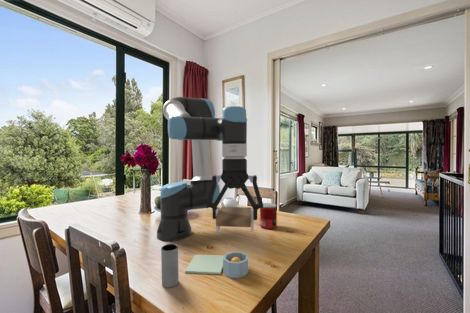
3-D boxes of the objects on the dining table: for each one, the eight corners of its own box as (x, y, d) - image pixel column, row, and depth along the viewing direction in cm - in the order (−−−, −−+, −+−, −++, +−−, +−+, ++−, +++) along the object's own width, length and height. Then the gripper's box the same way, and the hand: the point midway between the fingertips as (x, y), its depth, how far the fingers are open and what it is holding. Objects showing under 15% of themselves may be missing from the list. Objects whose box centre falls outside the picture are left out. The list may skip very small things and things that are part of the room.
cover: (216, 226, 63) (215, 215, 63) (221, 215, 73) (221, 206, 73) (250, 227, 62) (250, 216, 62) (251, 216, 72) (251, 207, 72)
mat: (185, 272, 67) (185, 270, 67) (195, 256, 78) (195, 254, 78) (220, 274, 66) (220, 272, 66) (225, 257, 77) (225, 255, 77)
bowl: (221, 277, 64) (221, 262, 64) (225, 264, 72) (225, 251, 72) (247, 279, 64) (247, 263, 64) (248, 265, 71) (248, 251, 71)
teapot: (213, 216, 128) (213, 200, 128) (233, 209, 144) (233, 195, 144) (226, 219, 123) (225, 202, 122) (245, 211, 139) (245, 196, 139)
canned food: (276, 230, 104) (276, 207, 104) (259, 229, 105) (259, 206, 105) (276, 225, 111) (276, 203, 111) (261, 224, 113) (260, 202, 113)
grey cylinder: (158, 286, 61) (157, 249, 61) (168, 277, 65) (168, 242, 65) (171, 289, 59) (171, 251, 59) (181, 280, 64) (181, 244, 63)
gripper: (195, 158, 65) (196, 233, 65) (272, 158, 62) (272, 235, 63) (201, 157, 72) (202, 224, 73) (271, 157, 70) (271, 226, 71)
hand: (235, 229), depth 68 cm, fingers closed on cover, 10 cm apart
